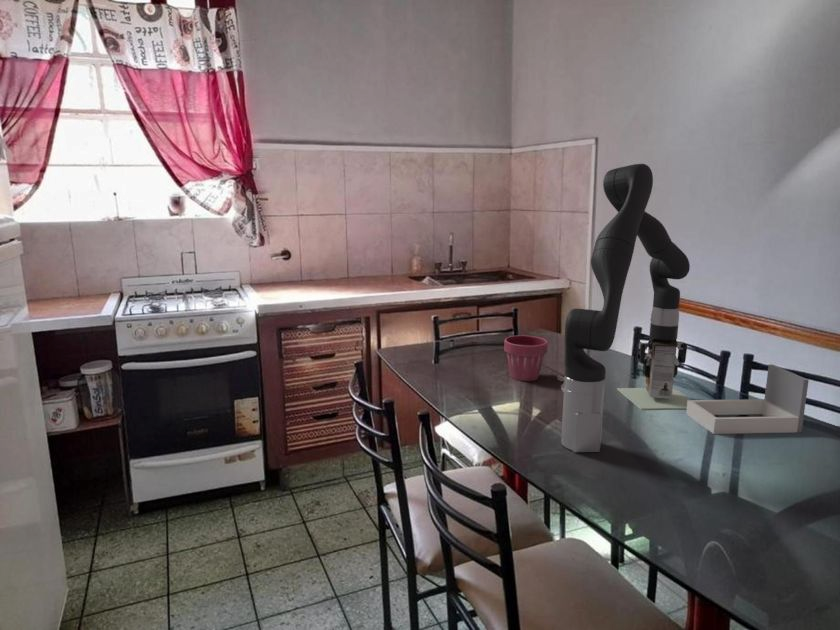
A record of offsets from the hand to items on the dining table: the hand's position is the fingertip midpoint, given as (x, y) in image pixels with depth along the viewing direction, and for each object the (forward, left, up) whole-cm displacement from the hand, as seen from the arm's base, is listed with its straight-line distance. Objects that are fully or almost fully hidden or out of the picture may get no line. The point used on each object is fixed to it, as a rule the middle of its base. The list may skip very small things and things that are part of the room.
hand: (659, 376), depth 175 cm
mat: (0, 0, -7) cm, 7 cm away
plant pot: (+23, +35, -7) cm, 42 cm away
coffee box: (0, 0, -5) cm, 5 cm away
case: (-20, -13, -7) cm, 25 cm away
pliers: (+14, +22, -7) cm, 27 cm away
